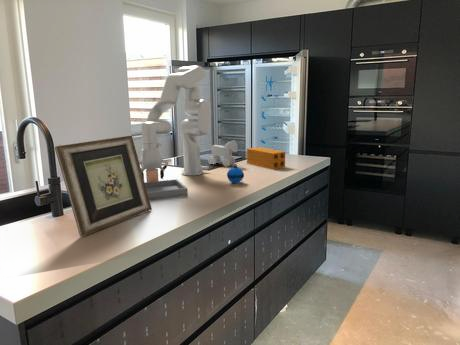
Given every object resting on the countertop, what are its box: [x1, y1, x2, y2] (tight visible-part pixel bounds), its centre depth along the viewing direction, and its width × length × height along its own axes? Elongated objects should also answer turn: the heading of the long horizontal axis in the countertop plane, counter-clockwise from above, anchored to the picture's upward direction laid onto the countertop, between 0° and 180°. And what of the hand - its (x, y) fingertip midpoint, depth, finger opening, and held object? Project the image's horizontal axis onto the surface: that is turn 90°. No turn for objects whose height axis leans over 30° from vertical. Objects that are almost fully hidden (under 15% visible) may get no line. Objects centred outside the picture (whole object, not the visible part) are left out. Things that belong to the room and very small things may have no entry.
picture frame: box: [54, 135, 153, 237], centre depth 135 cm, size 33×10×30 cm, turn 148°
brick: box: [246, 146, 286, 171], centre depth 236 cm, size 26×10×10 cm, turn 35°
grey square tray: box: [144, 178, 189, 201], centre depth 175 cm, size 20×20×4 cm
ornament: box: [226, 163, 245, 184], centre depth 191 cm, size 9×9×10 cm
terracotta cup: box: [145, 168, 160, 182], centre depth 191 cm, size 6×6×8 cm
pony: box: [207, 139, 239, 168], centre depth 237 cm, size 20×10×17 cm, turn 58°
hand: (152, 179), depth 191 cm, fingers open, 9 cm apart
